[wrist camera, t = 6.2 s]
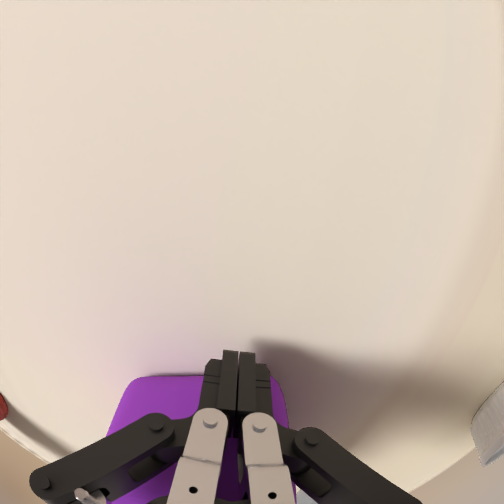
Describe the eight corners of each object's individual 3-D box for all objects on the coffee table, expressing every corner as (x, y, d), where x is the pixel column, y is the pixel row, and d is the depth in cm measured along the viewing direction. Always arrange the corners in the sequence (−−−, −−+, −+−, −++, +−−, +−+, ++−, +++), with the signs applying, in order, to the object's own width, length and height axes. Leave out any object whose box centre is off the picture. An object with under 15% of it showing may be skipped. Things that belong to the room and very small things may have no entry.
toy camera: (196, 464, 20) (186, 553, 10) (106, 370, 15) (50, 496, 6) (312, 449, 19) (328, 548, 9) (267, 339, 14) (282, 533, 5)
